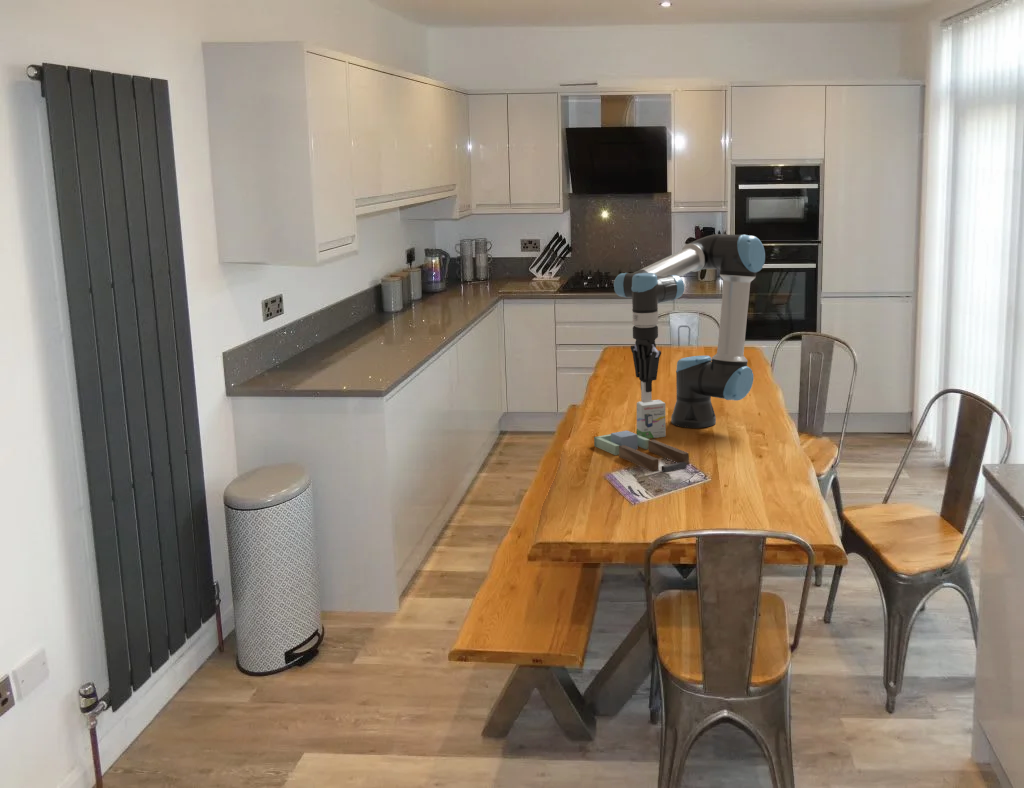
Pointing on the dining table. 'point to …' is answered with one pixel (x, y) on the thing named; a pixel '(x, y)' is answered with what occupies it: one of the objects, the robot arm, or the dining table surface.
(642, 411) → the ink box
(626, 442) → the block
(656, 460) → the channel
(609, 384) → the dining table surface
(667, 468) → the bar
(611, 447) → the frame
